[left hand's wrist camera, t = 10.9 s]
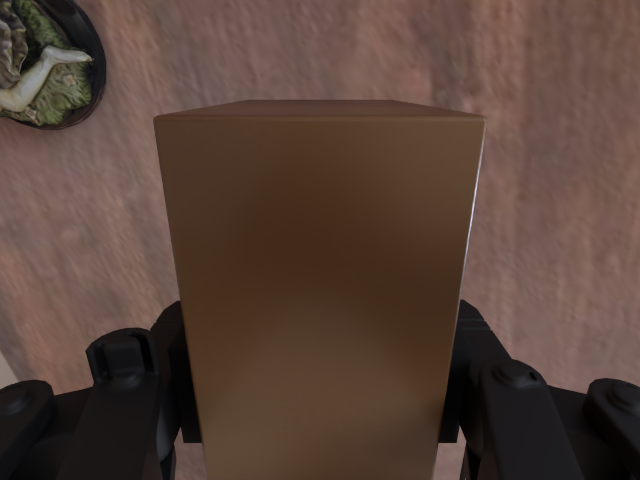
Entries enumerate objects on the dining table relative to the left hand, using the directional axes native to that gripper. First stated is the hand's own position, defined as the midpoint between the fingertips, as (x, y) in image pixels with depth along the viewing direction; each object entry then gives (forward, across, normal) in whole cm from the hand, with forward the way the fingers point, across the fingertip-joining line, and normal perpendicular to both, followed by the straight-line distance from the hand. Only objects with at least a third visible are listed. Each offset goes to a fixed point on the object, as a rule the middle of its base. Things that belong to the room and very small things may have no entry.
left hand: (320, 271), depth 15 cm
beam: (+1, 0, -20) cm, 20 cm away
